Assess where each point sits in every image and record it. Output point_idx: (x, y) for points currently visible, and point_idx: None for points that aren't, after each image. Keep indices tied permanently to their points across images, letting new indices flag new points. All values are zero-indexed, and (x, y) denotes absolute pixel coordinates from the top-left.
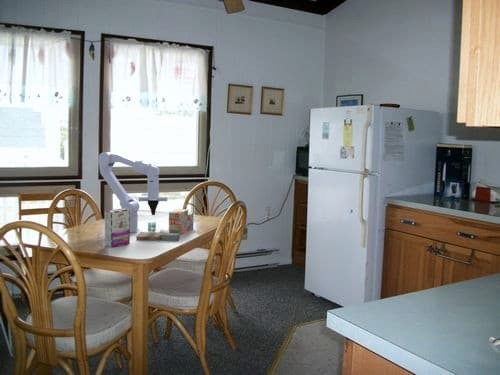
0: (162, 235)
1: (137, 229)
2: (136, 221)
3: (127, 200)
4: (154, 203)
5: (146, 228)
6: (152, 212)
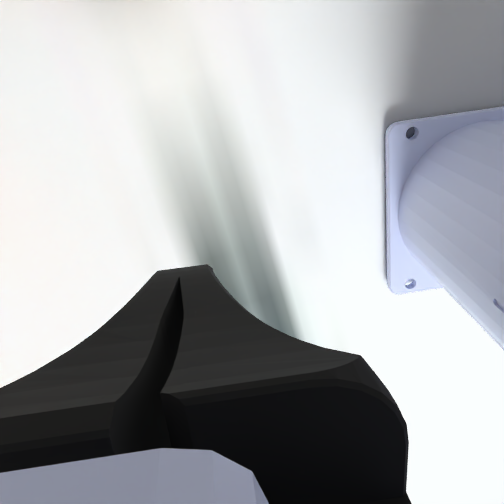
0: None
1: (401, 229)
2: (460, 224)
3: None
4: (38, 404)
5: None
6: (188, 279)
